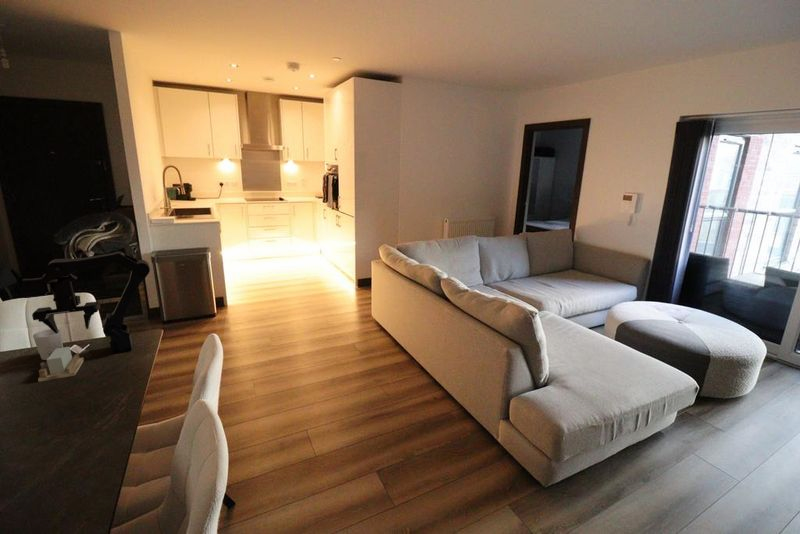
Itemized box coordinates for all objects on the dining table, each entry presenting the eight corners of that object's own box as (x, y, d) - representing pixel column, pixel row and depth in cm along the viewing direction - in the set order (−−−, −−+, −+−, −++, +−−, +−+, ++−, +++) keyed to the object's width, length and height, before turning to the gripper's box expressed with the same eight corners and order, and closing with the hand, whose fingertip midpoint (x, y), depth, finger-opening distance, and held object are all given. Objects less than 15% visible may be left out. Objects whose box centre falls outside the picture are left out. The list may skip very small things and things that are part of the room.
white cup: (44, 353, 150) (38, 330, 147) (68, 349, 153) (63, 327, 150) (35, 362, 143) (29, 338, 140) (61, 358, 146) (55, 335, 144)
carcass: (84, 359, 146) (80, 346, 144) (74, 375, 135) (71, 360, 134) (51, 365, 141) (47, 351, 140) (38, 381, 131) (34, 366, 129)
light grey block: (72, 360, 143) (69, 346, 141) (64, 372, 135) (61, 357, 133) (59, 362, 141) (55, 348, 139) (50, 374, 133) (46, 359, 131)
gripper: (99, 283, 150) (107, 319, 154) (38, 289, 142) (48, 327, 146) (92, 292, 140) (100, 329, 144) (26, 299, 132) (37, 338, 136)
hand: (72, 331), depth 143 cm, fingers open, 9 cm apart
